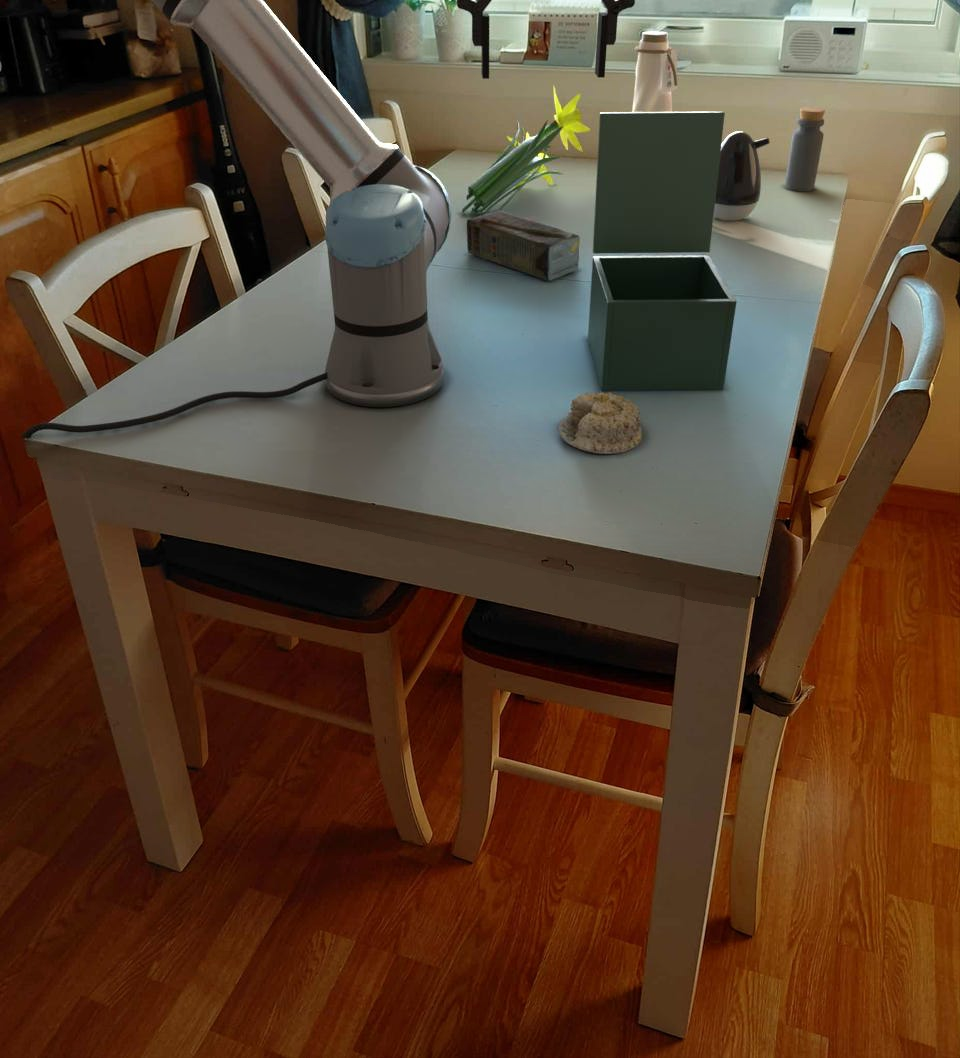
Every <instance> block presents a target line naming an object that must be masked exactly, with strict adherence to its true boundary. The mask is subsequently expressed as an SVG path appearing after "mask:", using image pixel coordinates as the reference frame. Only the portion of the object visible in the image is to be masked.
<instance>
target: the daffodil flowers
mask: <svg viewBox="0 0 960 1058" xmlns="http://www.w3.org/2000/svg"><path fill="white" fill-rule="evenodd" d="M552 88H553V101H554V108H555V114H554V115H553V117H554V120H553V121H552V122H551V123H550V124H548V119H547V120H546V121H545V122H544V124H543V125H542V127H541V128H540V130H539V132H538V133H537V134H536V135H535V136H530V133H529V132H528V131H527V132H526V133H525V131H524V127H522V128H521V129H522V130H521V132H522V133H521V142H519V140H518V138H519V135H520V123H519V120H518V119H517V120H516V126H517V127H516V133H515V135H514V137H511V136H509V135H506V139H507V141H509V142H510V143H509V144H508V145H507V147H506V148H504V150H503V151H502V153H501V154H500V155H499V156H498V158H497V159H496V160H495V161H494V162H493V163H492V164H491V165H490V166H489V168H488V169H487V170H485V172H484V173H482V174H481V175H480V176H479V177H477V179H475V180H474V181H473V182H471V184H469V185H468V186H467V187H468V189H467V192H468V194H467V195H466V199H465V200H466V201H468V200H470V199H471V198H472V197H473V198H472V199H471V200H470V201H469V202H468V203H467V204H466V205H465V206H464V207H462V209H461V214H464V213H465V212H466V211H468V210H469V208H470V207H471V206H472V205H473V206H472V207H471V212H470V213H472V214H478V213H479V216H480V215H482V214H487V212H489V211H490V210H491V209H492V208H493V207H495V206H496V205H498V203H499V202H501V201H502V200H504V199H505V198H507V197H508V196H509V195H511V196H510V197H508V199H507V200H506V201H505V202H504V203H503V204H502V205H501V206H500V207H499V208H498V209H497V210H500V211H502V210H503V208H505V207H506V205H508V204H509V203H510V202H511V201H512V199H513V198H514V197H515V196H516V195H517V194H518V193H519V192H520V191H521V189H522V188H523V187H524V186H525V185H527V184H528V183H531V182H532V181H534V180H536V179H538V178H540V177H541V178H542V179H543V180H545V182H547V183H548V184H549V185H551V186H554V183H553V179H552V175H563V173H562V172H559V171H556V170H548V169H547V167H546V166H545V165H544V164H546V163H549V162H552V161H554V160H557V159H560V158H561V156H548V155H547V153H548V152H547V151H548V150H547V149H550V148H554V147H555V145H550V144H551V143H552V142H553V140H554V139H555V138H556V137H557V136H558V135H559V137H560V141H561V143H562V144H563V146H564V148H565V149H566V150H567V151H568V150H569V142H570V144H571V145H572V146H573V147H574V148H575V149H577V150H578V151H579V152H581V153H584V151H583V148H582V145H581V144H580V141H579V139H578V138H577V136H576V133H577V134H579V133H580V134H581V133H587V132H590V131H591V128H590V127H588V126H586V124H585V125H584V124H583V123H581V122H582V120H583V115H582V113H581V110H579V108H578V107H577V104H578V102H579V100H580V97H581V93H580V92H579V93H578V94H576V95H575V96H574V97H573V98H572V99H571V100H569V101H568V103H566V105H564V107H563V108H562V105H561V103H560V100H559V98H558V95H557V92H556V87H555V85H554V84H552ZM547 124H548V125H547ZM568 141H569V142H568ZM513 147H514V149H513V150H511V149H512V148H513ZM533 171H534V172H533ZM512 193H513V194H512Z"/></svg>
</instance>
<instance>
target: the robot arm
mask: <svg viewBox="0 0 960 1058" xmlns="http://www.w3.org/2000/svg"><path fill="white" fill-rule="evenodd" d="M492 1H493V0H455V3H456V6H457V8H458V9H460V10H463V11H465V12H468V13H469V14H470V15H471V41H472V45H473V47H481V78H482V79H483V80H485V79H490V15H489V13H488V12H485V10H486V9H487V7H488V6H489V4H491V2H492ZM151 2H153V4H154V5H155V6H156V7H157V8H158V9H159V10H160V12H161V13H162V14H163V15H164V16H165V17H166V19H167V20H168V21H169V22H170V23H171V24H172V25H173V26H175V27H185V28H190V29H192V30H194V32H195V33H196V34H197V35H198V37H199V38H200V39H201V40H202V41H203V42H204V44H205V45H206V46H207V47H208V48H209V49H210V50H211V52H213V53H214V56H216V57H217V58H218V59H219V61H220V62H221V63H222V64H223V66H224V67H225V68H226V69H227V70H228V71H229V72H230V74H231V75H232V76H233V77H234V78H235V80H237V82H238V83H239V84H240V85H241V87H242V88H243V89H244V90H245V91H246V92H247V93H248V94H249V96H250V97H251V98H252V99H253V100H254V101H255V103H256V104H257V105H258V106H259V107H260V109H262V111H263V112H264V113H265V114H266V116H267V117H268V118H269V119H270V120H271V121H272V122H273V124H274V125H275V126H276V127H277V128H278V129H279V130H280V132H281V133H282V135H284V137H286V139H287V140H288V141H289V142H290V143H291V145H292V146H293V147H294V148H295V149H296V150H297V151H298V153H299V154H300V155H301V156H302V158H304V160H305V161H306V162H307V163H308V164H309V166H311V168H312V169H313V170H314V172H316V173H317V175H318V176H319V177H320V178H321V179H322V181H323V182H324V183H325V184H326V185H327V186H328V189H329V204H328V206H327V208H326V211H325V227H324V240H325V244H326V249H327V258H328V268H329V269H328V270H329V278H330V287H331V288H330V289H331V298H332V306H333V307H332V308H333V319H334V331H333V334H332V340H331V344H330V348H329V351H328V356H327V359H326V364H325V369H324V372H323V373H321V374H319V375H316V376H314V377H311V378H309V379H306V380H304V381H301V382H299V383H297V384H295V385H293V386H290V387H289V388H285V389H279V390H274V391H273V390H272V391H247V390H233V391H223V392H217V393H213V394H208V395H204V396H201V397H198V398H195V399H193V400H191V401H188V402H185V403H183V404H181V405H179V406H176V407H173V408H171V409H168V410H165V411H162V412H159V413H155V414H150V415H147V416H146V415H145V416H141V417H137V418H131V419H126V420H121V421H114V422H106V423H97V424H88V425H72V424H65V423H57V422H40V423H37V424H35V425H32V426H30V427H29V428H28V429H26V431H24V432H23V434H22V435H21V439H23V440H24V439H29V438H32V436H33V435H34V434H35V433H37V432H40V431H45V430H53V431H59V432H67V433H76V434H77V433H80V434H81V433H93V432H102V431H110V430H118V429H124V428H131V427H136V426H141V425H145V424H149V423H153V422H158V421H161V420H165V419H168V418H171V417H174V416H176V415H179V414H181V413H183V412H186V411H188V410H191V409H193V408H195V407H196V408H197V407H198V406H202V405H203V404H207V403H211V402H214V401H218V400H224V399H236V398H237V399H238V398H239V399H241V398H245V399H274V398H281V397H287V396H290V395H292V394H296V393H298V392H300V391H301V390H303V389H306V388H308V387H310V386H313V385H315V384H318V383H320V382H323V381H325V386H326V388H327V390H328V392H329V393H330V394H331V395H332V396H334V398H337V399H338V400H340V401H343V402H345V403H347V404H348V403H349V404H352V405H355V406H360V407H367V408H368V407H369V408H391V407H393V408H394V407H401V406H406V405H410V404H414V403H417V402H420V401H423V400H425V399H428V398H429V397H431V396H432V395H434V394H436V393H437V392H438V391H440V389H441V388H442V386H443V385H444V382H445V366H444V361H443V358H442V356H441V354H440V351H439V349H438V346H437V343H436V341H435V338H434V335H433V333H432V330H431V327H430V323H429V316H428V315H429V313H428V287H427V283H428V282H427V273H428V268H429V266H430V265H431V264H432V262H433V260H434V259H435V257H436V255H437V253H438V252H440V250H441V249H442V247H443V245H444V244H445V242H446V240H447V238H448V235H449V232H450V227H451V222H452V206H451V201H450V198H449V194H448V192H447V190H446V188H445V186H444V185H443V183H442V182H441V180H440V179H439V178H438V177H437V176H436V175H435V174H434V173H432V172H431V171H429V170H428V169H426V168H424V167H422V166H417V165H414V164H413V162H411V160H410V159H409V158H408V157H407V156H406V154H405V153H404V152H403V151H402V150H401V148H400V147H399V146H398V145H397V144H393V143H383V142H381V141H379V140H378V139H377V137H375V135H374V134H373V133H372V132H371V130H370V129H369V128H368V126H366V124H365V123H364V121H362V120H361V118H360V117H359V115H357V113H356V112H355V111H354V109H353V108H352V107H351V106H350V105H349V104H348V102H347V101H346V99H344V98H343V96H342V95H341V94H340V92H339V91H338V90H337V89H336V87H335V86H334V85H333V84H332V83H331V82H330V80H329V79H328V78H327V77H326V75H324V73H323V72H322V71H321V70H320V68H319V67H318V66H317V64H315V62H314V61H313V60H312V58H311V57H310V56H309V55H308V54H307V52H306V51H305V50H304V48H303V47H302V46H301V45H300V44H299V42H298V41H297V40H296V39H295V38H294V37H293V35H292V34H291V33H290V32H289V30H288V29H287V28H286V27H285V25H284V24H283V23H282V22H281V20H279V18H278V17H277V16H276V14H274V12H273V11H272V10H271V8H270V7H269V6H268V5H267V4H266V2H265V1H264V0H151ZM599 2H600V3H601V4H602V6H603V7H604V9H605V12H603V11H601V12H599V11H598V16H597V30H596V31H597V32H596V48H595V63H594V74H595V75H596V77H597V78H605V77H606V76H605V74H606V62H607V48H608V47H607V46H615V43H616V41H617V33H618V32H617V29H618V19H619V14H620V13H621V12H623V11H624V10H627V9H632V8H633V7H634V6H635V4H636V0H599Z"/></svg>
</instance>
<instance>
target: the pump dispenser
mask: <svg viewBox="0 0 960 1058" xmlns="http://www.w3.org/2000/svg"><path fill="white" fill-rule="evenodd" d="M767 145H770V138H769V137H765V138H761V139H758V140H754V139H753V138H752V136H751V135H750V134H748V133H747V132H745V131H734V132H732V133H730V134H729V135H727V136H726V138H725V139H724V141H722V143H721V152H720V161H719V171H718V180H717V189H716V198H715V207H714V216H713V218H716V219H718V220H721V221H727V222H735V221H741V220H744V219H745V218H747V217H749V215H751V214H752V213H753V211H754V209H755V208H756V206H757V203H758V202H759V201H760V198H761V191H762V190H761V189H762V187H761V186H762V175H761V174H762V173H761V165H760V164H761V163H760V158H759V154H758V149H761V148H762V147H764V146H767Z"/></svg>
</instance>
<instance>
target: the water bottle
mask: <svg viewBox="0 0 960 1058" xmlns="http://www.w3.org/2000/svg"><path fill="white" fill-rule="evenodd" d="M668 36H669V33H668V32H667V31H658V30H649V31H642V33H641V39H640V41H639V45H637V46H635V47H634V51H635V52H637V60H636V66H635V81H634V82H635V83H634V92H633V100H632V110H631V112H673V101H672V100H673V99H672V98H673V97H672V92H673V91H676V90H677V89H678V49H677V48H675V49H673V48H672V47H671V46H669V39H668V38H669V37H668Z"/></svg>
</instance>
